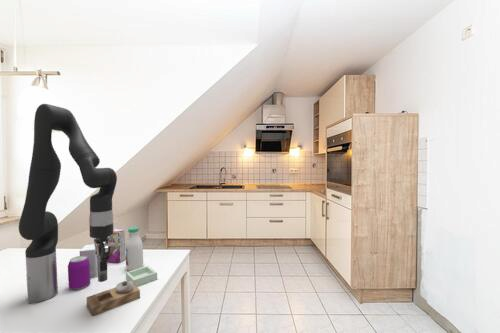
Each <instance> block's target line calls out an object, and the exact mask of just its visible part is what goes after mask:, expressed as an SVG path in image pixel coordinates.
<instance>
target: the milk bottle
mask: <svg viewBox="0 0 500 333" xmlns="http://www.w3.org/2000/svg"><path fill="white" fill-rule="evenodd" d="M139 229H140V228H139V226H132V227H129V228H128V229H127V230H128V238H127V240H126V241H125V256H126V259H125V268H126V271H127V272H129V271H132V270H136V269H139V268H142V267H144V247H143V241H142V239H141V237H140V235H139V234H140V233H139V231H140V230H139Z"/></svg>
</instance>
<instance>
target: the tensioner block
mask: <svg viewBox="0 0 500 333" xmlns="http://www.w3.org/2000/svg"><path fill="white" fill-rule="evenodd" d="M140 298H141V290H140V289H139V288H138V286H137V287H136V286H135V285H134V284H133V282H132V281H127V280H124V281H121V282H119V283H117V284H116V286H115V287H113V288H109V289H107V290H103V291H101V292H99V293H95V294H92V295H89V296H86V306H87V308H88V310H89V313H90V314H91V316H92V317H95V316H96V315H99V314H102V313H104V312H106V311H110V310H112V309H115V308H117V307H119V306H123V305H124V304H127V303H129V302H133V301H135V300H138V299H140Z"/></svg>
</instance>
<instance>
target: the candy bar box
mask: <svg viewBox="0 0 500 333" xmlns="http://www.w3.org/2000/svg"><path fill="white" fill-rule="evenodd" d="M125 232H126V231H125V229H119V228H118V229H117V228H115V229H114V228H113V234H112V235H111V236H108V237H107V239H108V240H109V246H110V247H111V249H110V258H109V260H107V263H113V264H115V263H116V264H121V263H122V262H123V261H126V238H125V237H126V235H125V234H126V233H125Z"/></svg>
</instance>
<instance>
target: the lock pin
mask: <svg viewBox="0 0 500 333" xmlns="http://www.w3.org/2000/svg"><path fill="white" fill-rule="evenodd" d="M96 252H97V255H98V250H97V248H96ZM101 252H102V251H100V253H101ZM104 257H106V256H104ZM99 259H100V257H99V255H98V275H97V282H99V283H102V282H106V281H107V280H108V269H107V270H106V271H102V272H101V271H100V261H99Z"/></svg>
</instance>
